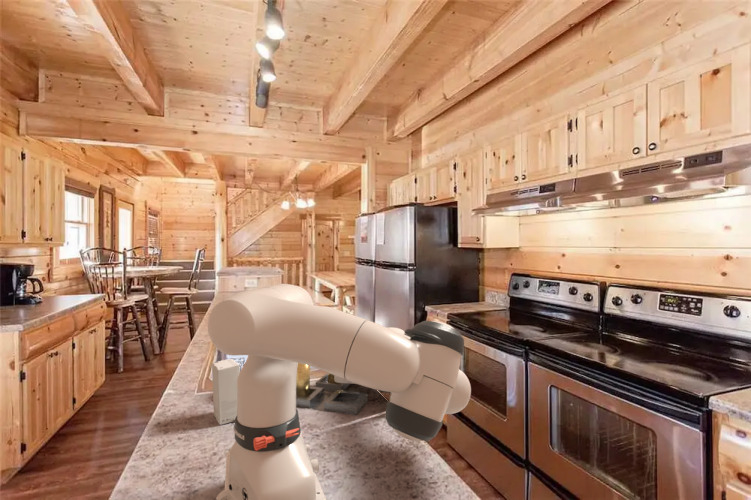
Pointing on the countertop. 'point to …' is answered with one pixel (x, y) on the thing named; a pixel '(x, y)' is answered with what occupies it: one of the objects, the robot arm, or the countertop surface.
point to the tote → (330, 384)
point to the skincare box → (225, 390)
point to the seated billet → (303, 380)
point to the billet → (332, 379)
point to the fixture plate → (333, 401)
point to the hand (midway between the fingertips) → (331, 365)
